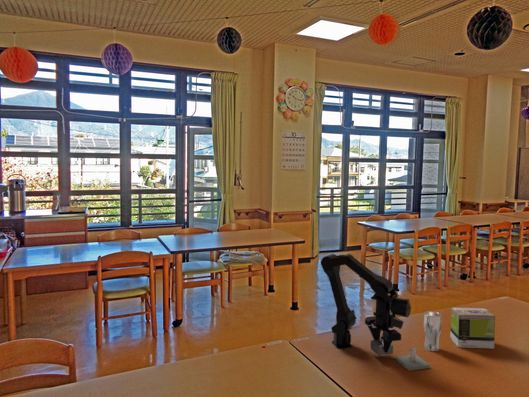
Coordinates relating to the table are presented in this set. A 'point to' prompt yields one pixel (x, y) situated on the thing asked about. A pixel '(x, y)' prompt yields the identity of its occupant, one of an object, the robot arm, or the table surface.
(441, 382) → the table surface
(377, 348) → the square ring block
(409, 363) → the shaft block
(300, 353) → the table surface
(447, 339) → the table surface
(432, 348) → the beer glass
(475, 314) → the tea box
